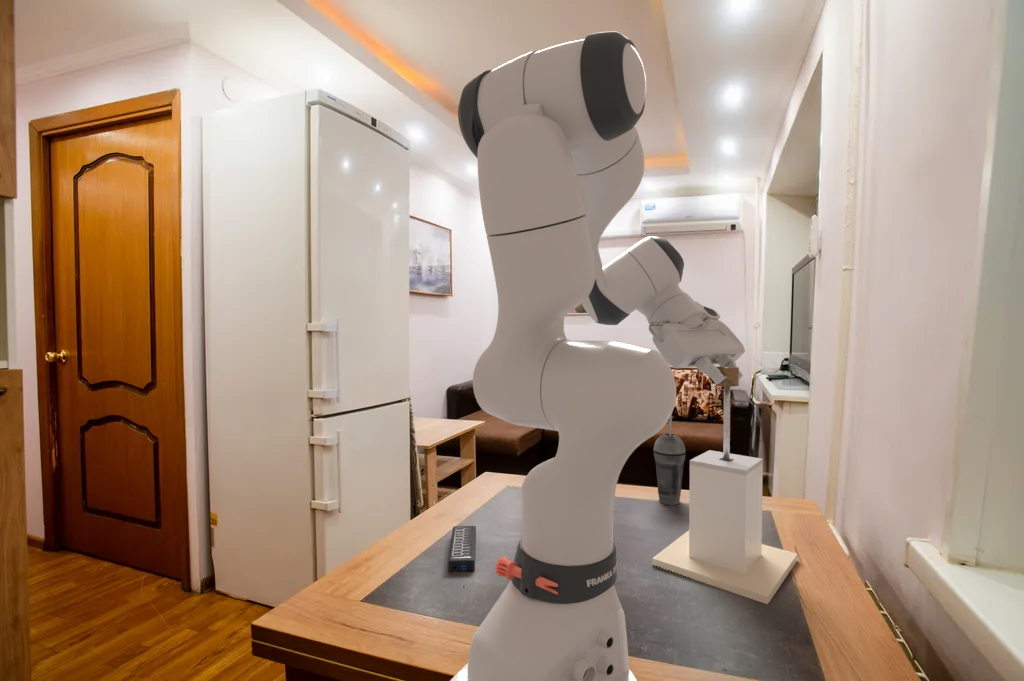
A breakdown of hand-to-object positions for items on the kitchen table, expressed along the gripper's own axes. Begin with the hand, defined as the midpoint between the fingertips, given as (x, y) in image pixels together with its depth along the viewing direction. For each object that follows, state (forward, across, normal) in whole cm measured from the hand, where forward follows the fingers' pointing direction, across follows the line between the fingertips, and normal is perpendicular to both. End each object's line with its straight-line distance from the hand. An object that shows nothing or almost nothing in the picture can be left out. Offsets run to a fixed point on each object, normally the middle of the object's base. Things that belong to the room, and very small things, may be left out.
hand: (730, 380), depth 84 cm
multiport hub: (0, -33, +45) cm, 56 cm away
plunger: (+11, 0, +12) cm, 16 cm away
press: (+22, 0, +23) cm, 31 cm away
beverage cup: (+5, +18, +39) cm, 44 cm away
